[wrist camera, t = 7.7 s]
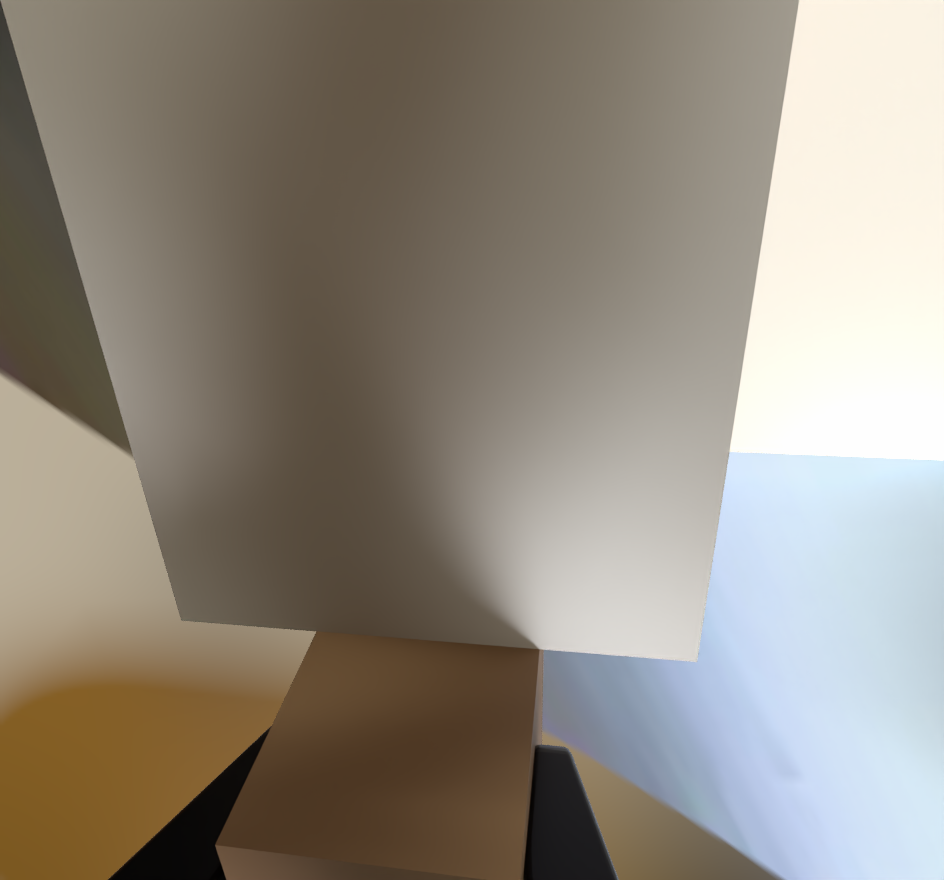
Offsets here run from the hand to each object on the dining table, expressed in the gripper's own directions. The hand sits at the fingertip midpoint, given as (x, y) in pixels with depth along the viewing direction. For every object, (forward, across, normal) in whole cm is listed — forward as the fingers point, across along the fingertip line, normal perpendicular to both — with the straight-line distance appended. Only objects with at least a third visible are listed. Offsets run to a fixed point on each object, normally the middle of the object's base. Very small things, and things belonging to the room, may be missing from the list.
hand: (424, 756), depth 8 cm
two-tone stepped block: (+2, 0, -1) cm, 2 cm away
